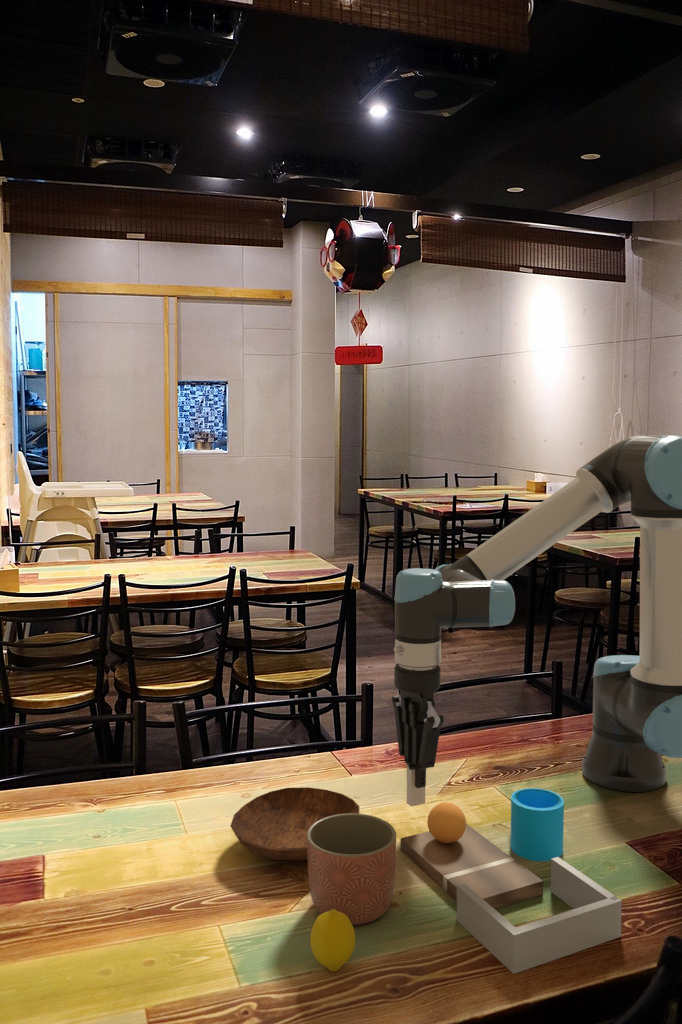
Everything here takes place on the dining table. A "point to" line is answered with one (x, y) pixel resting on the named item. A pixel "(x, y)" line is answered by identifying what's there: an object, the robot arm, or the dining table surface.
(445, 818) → the ball
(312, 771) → the dining table surface
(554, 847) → the mug
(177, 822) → the dining table surface
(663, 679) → the robot arm
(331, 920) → the fruit
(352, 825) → the planter
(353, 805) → the bowl
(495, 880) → the board
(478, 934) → the grey frame
